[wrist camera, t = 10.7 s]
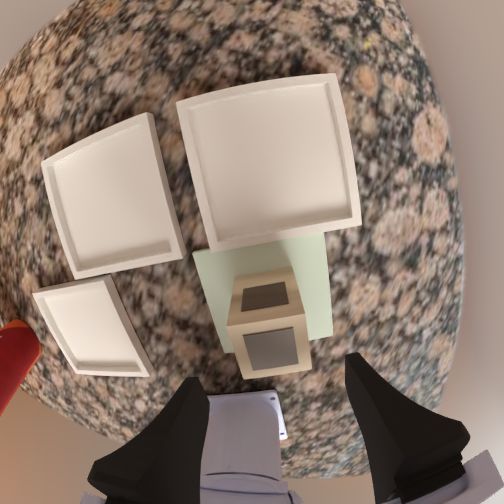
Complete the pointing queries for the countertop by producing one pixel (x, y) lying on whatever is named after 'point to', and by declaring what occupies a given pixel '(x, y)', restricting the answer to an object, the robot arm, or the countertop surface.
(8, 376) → the paper cup
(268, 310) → the letter block
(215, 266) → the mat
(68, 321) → the dish
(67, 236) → the dish
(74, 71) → the countertop surface
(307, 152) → the dish
